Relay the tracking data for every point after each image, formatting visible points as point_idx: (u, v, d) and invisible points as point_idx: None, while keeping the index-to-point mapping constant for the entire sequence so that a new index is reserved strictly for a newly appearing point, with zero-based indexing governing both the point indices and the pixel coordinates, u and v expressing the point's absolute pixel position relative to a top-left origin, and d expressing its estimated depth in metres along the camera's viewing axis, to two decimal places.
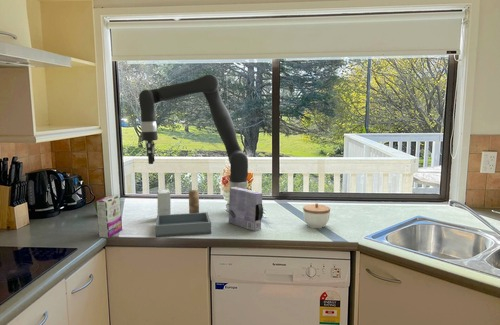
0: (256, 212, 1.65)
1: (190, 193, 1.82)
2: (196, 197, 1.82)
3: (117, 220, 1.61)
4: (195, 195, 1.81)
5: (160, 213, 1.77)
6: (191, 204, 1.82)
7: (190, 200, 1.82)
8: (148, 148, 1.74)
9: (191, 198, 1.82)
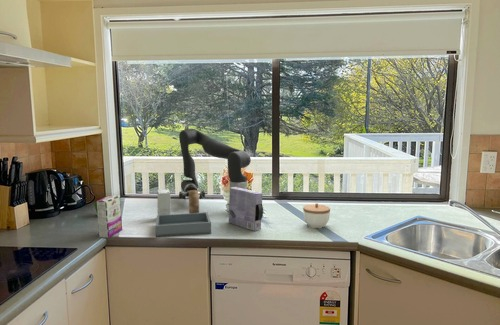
0: (256, 212, 1.65)
1: (190, 193, 1.82)
2: (196, 197, 1.82)
3: (117, 220, 1.61)
4: (195, 195, 1.81)
5: (160, 213, 1.77)
6: (191, 204, 1.82)
7: (190, 200, 1.82)
8: None
9: (191, 198, 1.82)
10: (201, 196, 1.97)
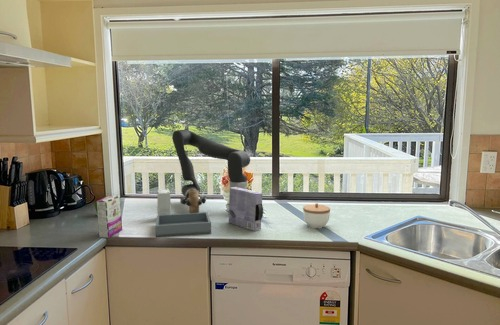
0: (256, 212, 1.65)
1: (190, 193, 1.82)
2: (196, 197, 1.82)
3: (117, 220, 1.61)
4: (195, 195, 1.81)
5: (160, 213, 1.77)
6: (191, 204, 1.82)
7: (190, 200, 1.82)
8: (181, 201, 1.88)
9: (191, 198, 1.82)
10: (200, 202, 1.83)
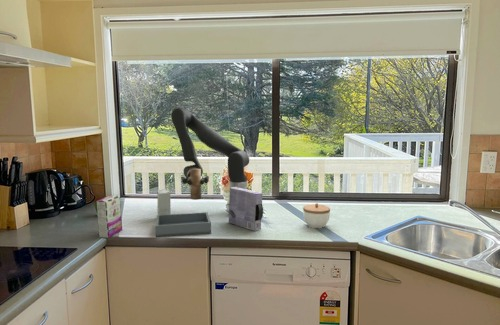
0: (256, 212, 1.65)
1: (192, 171, 1.68)
2: (198, 176, 1.69)
3: (117, 220, 1.61)
4: (197, 173, 1.68)
5: (160, 213, 1.77)
6: (192, 183, 1.69)
7: (191, 179, 1.69)
8: (182, 181, 1.75)
9: (193, 177, 1.68)
10: (203, 182, 1.70)
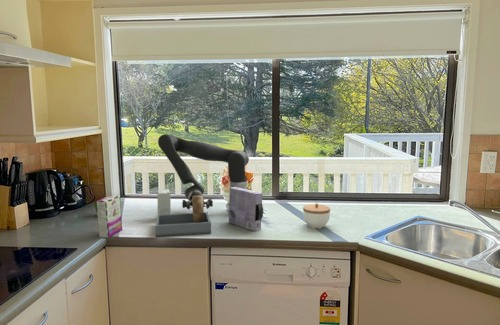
0: (256, 212, 1.65)
1: (194, 199, 1.65)
2: (200, 203, 1.66)
3: (117, 220, 1.61)
4: (199, 200, 1.65)
5: (160, 213, 1.77)
6: (195, 211, 1.66)
7: (194, 206, 1.66)
8: None
9: (195, 204, 1.66)
10: (208, 205, 1.67)
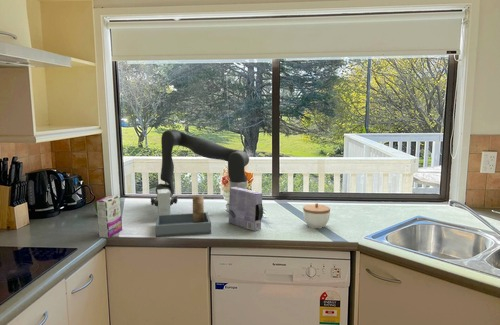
0: (256, 212, 1.65)
1: (194, 199, 1.65)
2: (201, 203, 1.66)
3: (117, 220, 1.61)
4: (199, 201, 1.65)
5: (160, 213, 1.77)
6: (195, 211, 1.66)
7: (194, 206, 1.66)
8: None
9: (195, 204, 1.65)
10: (171, 202, 1.81)
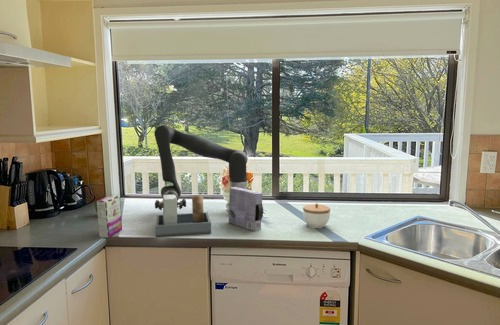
0: (256, 212, 1.65)
1: (193, 199, 1.65)
2: (200, 203, 1.66)
3: (117, 220, 1.61)
4: (199, 200, 1.65)
5: (166, 221, 1.61)
6: (195, 211, 1.66)
7: (194, 206, 1.66)
8: None
9: (195, 204, 1.65)
10: (181, 206, 1.65)
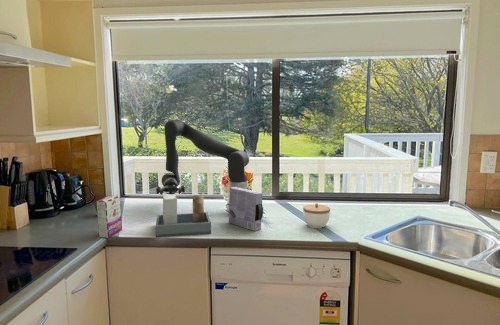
0: (256, 212, 1.65)
1: (194, 198, 1.66)
2: (200, 203, 1.66)
3: (117, 220, 1.61)
4: (199, 200, 1.65)
5: (166, 221, 1.61)
6: (195, 210, 1.66)
7: (194, 206, 1.66)
8: None
9: (195, 204, 1.66)
10: (180, 191, 1.82)
